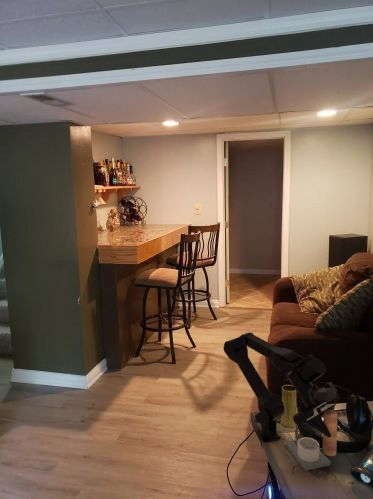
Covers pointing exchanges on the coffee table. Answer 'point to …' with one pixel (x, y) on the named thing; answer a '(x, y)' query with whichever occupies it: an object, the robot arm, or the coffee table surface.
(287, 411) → the vase
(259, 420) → the robot arm
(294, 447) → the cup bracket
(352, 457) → the coffee table surface
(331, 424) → the post
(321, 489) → the coffee table surface
